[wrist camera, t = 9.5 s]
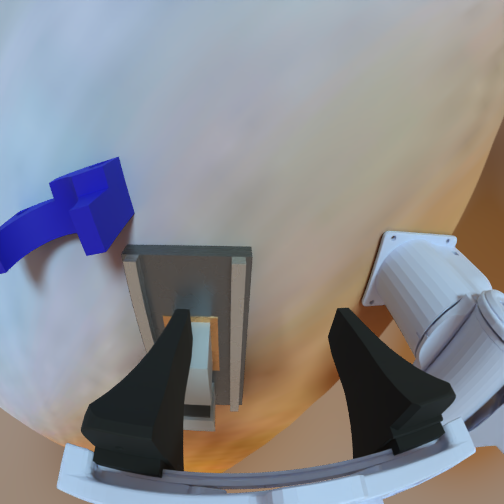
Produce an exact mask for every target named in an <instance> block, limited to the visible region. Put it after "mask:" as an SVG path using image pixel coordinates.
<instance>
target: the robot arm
mask: <svg viewBox="0 0 504 504" xmlns="http://www.w3.org/2000/svg"><path fill="white" fill-rule="evenodd" d="M392 236H394V238H392ZM391 238H392V239H391ZM446 240H447V241H446ZM456 242H457V238H456V237H455V236H451V235H439V234H426V233H413V232H398V231H386V232H385V233H384V234H383V236H382V240H381V243H380V247H379V250H378V254H377V257H376V260H375V263H374V266H373V270H372V273H371V276H370V279H369V282H368V285H367V287H366V290H365V293H364V296H363V299H362V304H363V305H364V306H376V305H386V307H387V309H388V310H389V312H390V314H391V315H392V317H393V319H394V320H395V322H396V324H397V325H398V327H399V329H400V331H401V332H402V334H403V336H404V337H405V339H406V341H407V343H408V345H409V347H410V349H411V350H412V352H413V354H414V356H415V358H416V360H415V361H414V363H413V364H411V363H409V362H408V361H406V360H405V359H403V358H402V357H401V356H399V355H398V354H396V353H395V352H394V351H393V350H392V349H390V348H389V347H388V346H387V345H386V344H385V343H383V342H382V341H381V340H380V339H379V338H378V337H377V336H376V335H375V334H374V333H373V332H372V331H371V330H370V329H369V328H368V327H367V326H366V325H365V324H364V323H363V322H362V321H361V320H360V319H359V318H358V317H357V316H356V315H355V314H354V313H353V312H352V311H351V310H350V309H349V308H337V311H336V314H335V317H334V320H333V323H332V326H331V329H330V332H329V335H328V339H329V344H330V349H331V354H332V357H333V360H334V362H335V365H336V368H337V371H338V374H339V377H340V380H341V383H342V386H343V389H344V392H345V396H346V401H347V406H348V412H349V418H350V424H351V433H352V443H353V459H352V460H347V461H343V462H338V463H333V464H328V465H322V466H316V467H310V468H303V469H296V470H286V471H277V472H262V473H232V474H231V473H230V474H229V473H198V472H185V471H184V464H183V421H184V401H185V393H186V387H187V381H188V376H189V370H190V364H191V358H192V346H193V334H192V326H191V317H190V309H176V310H175V311H174V313H173V315H172V317H171V319H170V320H169V322H168V324H167V325H166V327H165V329H164V330H163V332H162V333H161V335H160V336H159V338H158V339H157V341H156V342H155V344H154V345H153V346H152V348H151V349H150V350H149V352H148V353H147V354H146V355H145V357H144V358H143V359H142V360H141V361H140V363H139V364H138V365H137V366H136V367H135V368H134V369H133V370H132V371H131V372H130V373H129V374H128V375H127V376H126V377H125V378H124V379H123V380H122V381H121V382H119V383H118V384H117V385H116V386H114V387H113V388H112V389H111V390H110V391H108V392H107V393H106V394H104V395H103V396H101V397H100V398H98V399H97V400H95V401H94V402H92V403H91V404H89V406H88V409H87V411H86V413H85V416H84V420H83V423H82V427H81V432H82V434H83V435H84V436H85V437H86V438H87V439H88V440H89V441H90V442H91V443H92V444H93V445H94V446H95V451H94V452H93V451H91V450H88V449H86V448H82V447H79V446H76V445H72V444H69V443H66V446H65V450H64V454H63V459H62V463H61V467H60V473H59V477H58V482H57V488H58V489H59V490H62V491H64V492H66V493H68V494H70V495H72V496H75V497H77V498H80V499H82V500H85V501H88V502H91V503H94V504H384V503H383V499H384V498H387V497H389V496H392V495H394V494H397V493H400V492H402V491H405V490H407V489H409V488H412V487H414V486H416V485H418V484H420V483H423V482H425V481H427V480H429V479H431V478H433V477H435V476H437V475H439V474H440V473H443V472H445V471H446V470H448V469H450V468H452V467H453V466H455V465H456V464H458V463H460V462H461V461H463V460H464V459H466V458H467V457H469V456H470V455H472V454H473V453H475V452H476V449H475V447H482V446H492V445H495V446H497V447H498V448H499V449H500V450H501V452H502V453H503V454H504V294H503V293H501V292H499V291H497V290H492V287H491V285H490V282H489V281H488V279H487V278H486V277H485V276H484V275H483V274H482V273H481V272H480V271H479V270H478V269H477V268H476V267H475V266H474V265H473V264H472V263H471V262H470V261H469V260H468V259H467V258H466V257H465V256H464V255H463V254H462V253H461V252H460V251H459V250H457V249H456V248H455V245H456ZM370 301H371V302H370ZM347 475H349V476H347ZM343 476H345V477H343ZM338 477H341V478H338ZM334 478H336V479H334ZM329 479H331V480H329ZM324 480H326V481H324ZM318 481H321V482H318ZM312 482H315V483H312ZM306 483H309V484H306ZM298 484H303V485H298ZM291 485H295V486H291ZM282 486H289V487H283V488H278V489H273V490H266V491H258V492H246V493H229V494H227V492H226V491H225V490H222V489H256V488H271V487H282Z"/></svg>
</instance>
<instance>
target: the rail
mask: <svg viewBox="0 0 504 504" xmlns="http://www.w3.org/2000/svg"><path fill="white" fill-rule="evenodd" d="M121 256H122V261H123V266H124V270H125V275H126V279H127V284H128V288H129V292H130V296H131V300H132V304H133V308H134V312H135V315H136V319H137V323H138V326H139V329H140V333H141V336H142V340H143V343H144V346H145V349H146V352H147V353H148V352H149V350H150V349H151V348H152V346H153V345H154V344H155V342H156V341H157V339H158V338H159V336H160V335H161V333H162V332H163V330H164V329H165V327H166V325H167V324H168V322H169V320H170V319H171V317H172V315H173V313H174V311H175V310H176V309H190V317H191V322H205V323H210V330H211V347H212V362H213V367H212V383H214V384H215V405H230V411H238V407H239V405H242V397H243V383H244V369H245V355H246V341H247V327H248V312H249V298H250V284H251V270H252V250H251V247H233V246H179V245H127V246H126V247H125V249H124V251H123V252H122V254H121Z"/></svg>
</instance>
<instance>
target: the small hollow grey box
mask: <svg viewBox="0 0 504 504" xmlns="http://www.w3.org/2000/svg"><path fill="white" fill-rule="evenodd" d="M183 429H184V430H194V431H215V384H214V383H212V399H211V405H190V404H184V421H183Z"/></svg>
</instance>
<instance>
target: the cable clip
mask: <svg viewBox="0 0 504 504" xmlns="http://www.w3.org/2000/svg"><path fill="white" fill-rule="evenodd" d="M49 185H50V188H51V191H52V194H53V197H54V198H53V199H50V200H47V201H45V202H42V203H39V204H37V205H34V206H32V207H29V208H27V209H24V210H22V211H20V212H18V213H17V214H16V215H14V216H13V217H12V218H10V219H9V220H8V221H7V222H5V223H4V224H3V225H2V226H0V274H2V273H6V272H7V271H8V270H9V269H10V268H11V267H12V266H13V265H14V264H15V263H16V262H18V261H19V260H20V259H21V258H23V257H24V256H25V255H27V254H28V253H30V252H31V251H33V250H34V249H36V248H38V247H39V246H41V245H43V244H45V243H47V242H49V241H51V240H54V239H56V238H59V237H62V236H65V235H69V234H73V233H77V234H78V237H79V239H80V241H81V244H82V246H83V249H84V251H85V253H86V256H88V255H93V254H99V253H104V252H106V251H107V250H108V249H109V247H110V246H111V244H112V243H113V241H114V240H115V239H116V237H117V236H118V234H119V233H120V232H121V230H122V229H123V228H124V226H125V225H126V224H127V222H128V221H129V220H130V218H131V217H132V216H133V214H134V209H133V206H132V203H131V200H130V196H129V193H128V189H127V186H126V182H125V179H124V175H123V171H122V168H121V164H120V160H119V157H116V158H113V159H110V160H107V161H104V162H101V163H97V164H94V165H92V166H89V167H86V168H83V169H80V170H77V171H75V172H72V173H69V174H67V175H64V176H61V177H59V178H57V179H55V180H53V181H52V182H50V183H49Z"/></svg>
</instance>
